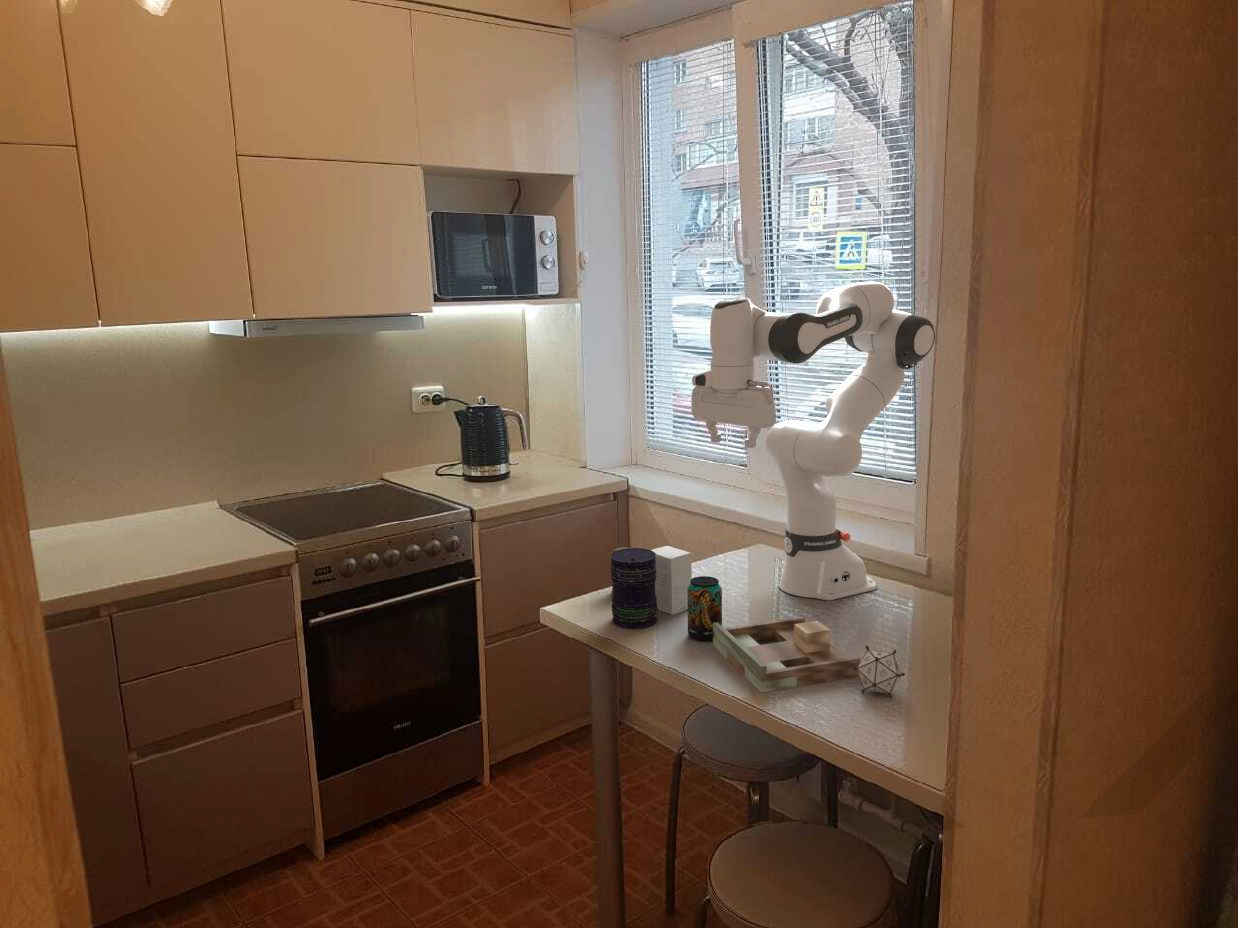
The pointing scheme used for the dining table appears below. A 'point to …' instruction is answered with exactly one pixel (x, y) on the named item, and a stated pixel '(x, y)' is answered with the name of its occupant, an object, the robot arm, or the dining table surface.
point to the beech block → (811, 636)
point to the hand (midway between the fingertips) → (732, 444)
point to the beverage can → (704, 607)
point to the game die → (878, 671)
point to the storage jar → (634, 588)
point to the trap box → (779, 656)
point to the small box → (672, 579)
